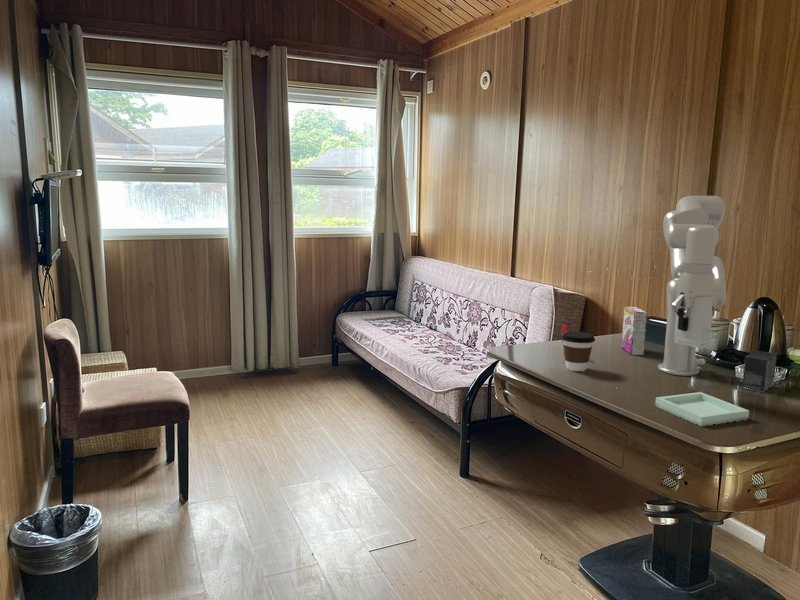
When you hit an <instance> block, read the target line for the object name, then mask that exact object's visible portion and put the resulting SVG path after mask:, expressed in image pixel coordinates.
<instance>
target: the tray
mask: <svg viewBox="0 0 800 600" xmlns="http://www.w3.org/2000/svg"><path fill="white" fill-rule="evenodd" d="M654 407H657V408H659V409H660V410H662V411H663V410H664V411H665V412H667V413H669V414H671V415H674V416H676V417H678V418H680V417H681V419H682V420H685V421H687V420H688V422H689V421H690V423H692V424H693V425H696V424H697V426H698V425H699V426H698V427H700V426H701V427H707V425H708V426H713V424H715V425H721V423H722V424H727V422H729V423H733V421H736V422H740V421H741V420H743V421H747V419H748V420H749V415H750V410H748V409H746V408H743V407H741V406H738V405H737V404H733V403H730V402H728V401H725V400H723V399H720V398H717V397H715V396H712V395H709V394H708V393H707V394H706V393H704V392H701V391H698V392H691V393H683V394H682V393H681V394H674V395H667V396H666V395H665V396H657V397H655V404H654Z"/></svg>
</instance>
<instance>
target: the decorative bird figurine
mask: <svg viewBox="0 0 800 600" xmlns="http://www.w3.org/2000/svg"><path fill="white" fill-rule="evenodd" d="M560 331H561V333H560V334H561V336H562V335H563V333H565V332H571V331H570V330H569V327H568V325H567V324H565V323H563V324H561V328H560ZM561 342H562V345H563V344H564V342H563V339H561Z"/></svg>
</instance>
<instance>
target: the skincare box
mask: <svg viewBox="0 0 800 600" xmlns="http://www.w3.org/2000/svg"><path fill="white" fill-rule="evenodd" d="M681 304H682V303H681ZM712 304H713V296H705V297H696V299H695V304H694V307H693V308H692V309H690V311H689V313H688V316H687V318H688V319H689V320H688V330H687V331H682V330H679V329H678V319H679V316H677V313H676V325H675V343H677V344H682V345H688V346H692V347H696V349H697V348H698V349H702V348H707V347H710V346H711V341H712V340H711V339H712V338H711V337H712V320H713V319H712V318H713V311H712ZM680 306H681V305H680ZM683 306H685V304H683ZM683 311H685V309H683Z"/></svg>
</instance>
